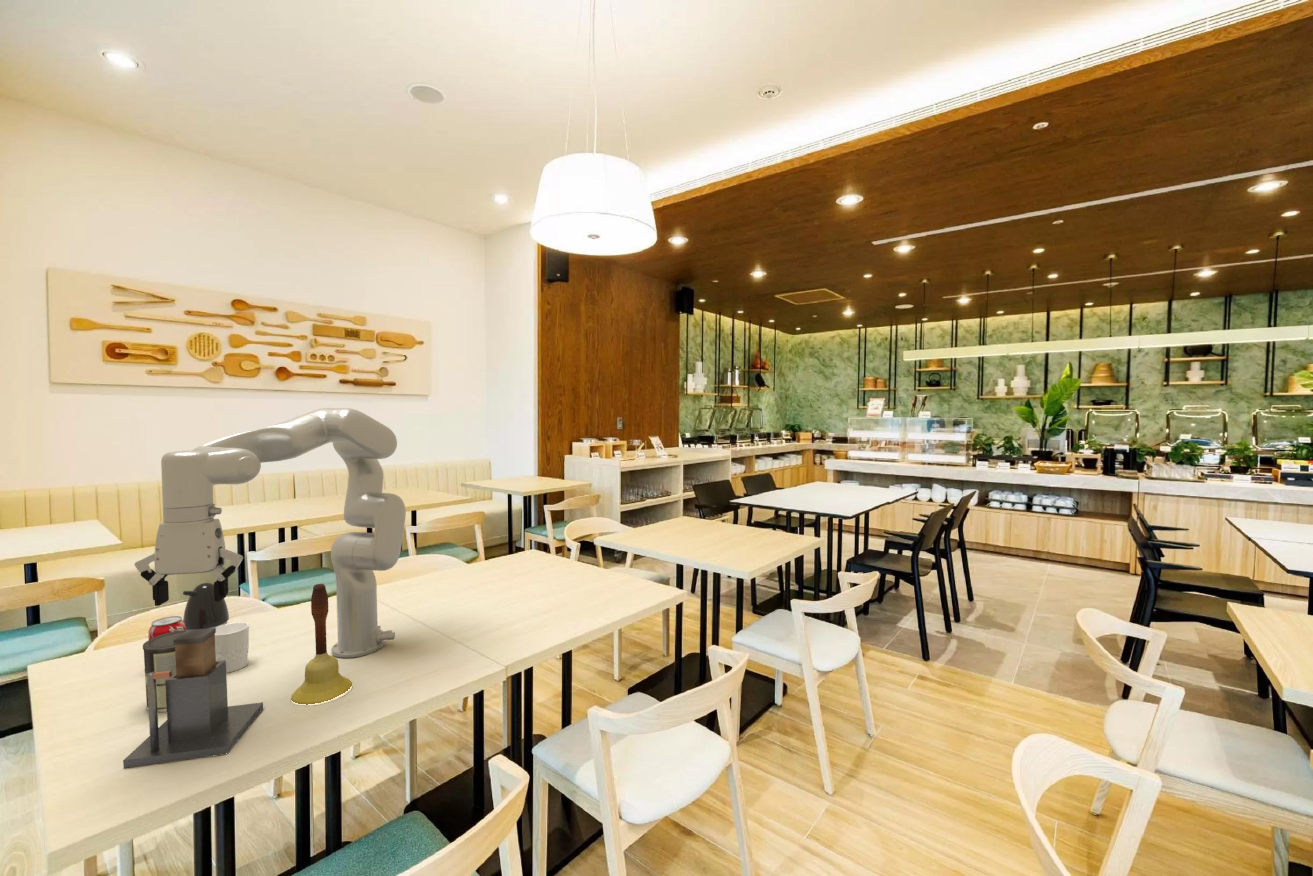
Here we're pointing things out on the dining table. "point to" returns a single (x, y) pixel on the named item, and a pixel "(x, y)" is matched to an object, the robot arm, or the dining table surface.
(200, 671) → the walnut post
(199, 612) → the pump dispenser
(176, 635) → the coffee can
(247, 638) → the white cup
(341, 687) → the handbell
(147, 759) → the steel stand
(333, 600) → the dining table surface
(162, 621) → the soda can
